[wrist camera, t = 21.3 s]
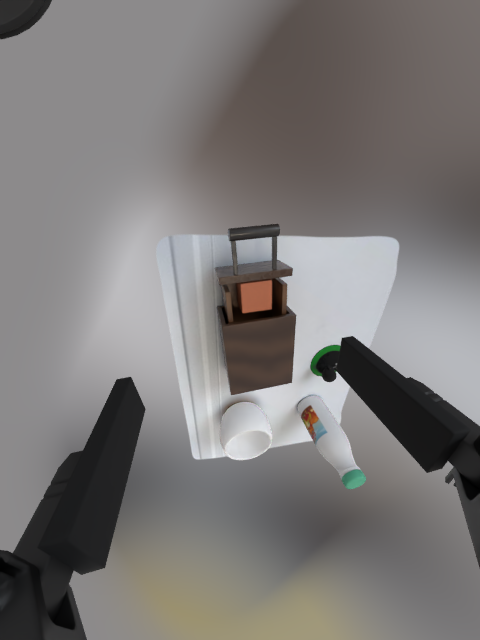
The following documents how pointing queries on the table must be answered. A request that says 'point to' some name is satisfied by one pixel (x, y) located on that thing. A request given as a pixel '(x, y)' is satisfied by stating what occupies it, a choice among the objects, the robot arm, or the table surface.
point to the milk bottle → (330, 440)
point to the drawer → (253, 275)
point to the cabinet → (258, 351)
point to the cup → (245, 431)
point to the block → (254, 295)
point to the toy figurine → (326, 363)
